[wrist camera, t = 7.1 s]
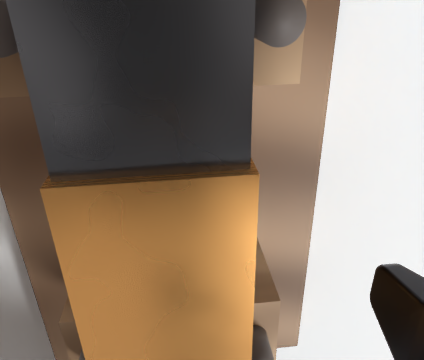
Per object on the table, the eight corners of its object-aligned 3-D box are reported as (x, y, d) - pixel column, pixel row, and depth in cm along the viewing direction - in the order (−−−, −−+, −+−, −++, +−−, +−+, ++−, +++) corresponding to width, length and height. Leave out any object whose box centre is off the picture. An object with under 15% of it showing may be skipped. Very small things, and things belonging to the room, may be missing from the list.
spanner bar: (226, 376, 13) (245, 500, 10) (137, 386, 13) (127, 518, 10) (224, -100, 7) (274, -182, 4) (50, -100, 7) (-62, -188, 3)
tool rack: (291, 330, 20) (338, 457, 15) (64, 354, 19) (23, 501, 13) (354, -240, 10) (583, -522, 4) (-120, -256, 9) (-576, -651, 3)
